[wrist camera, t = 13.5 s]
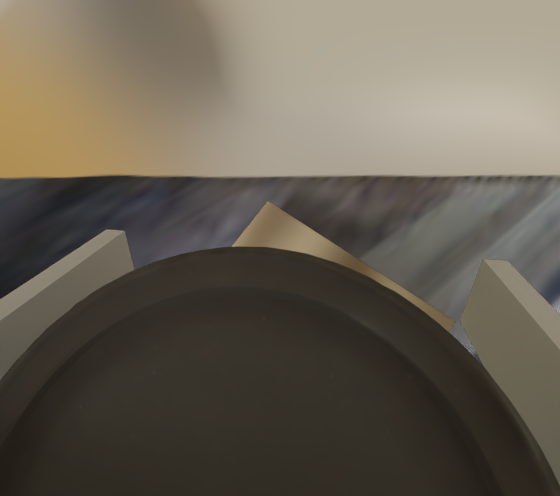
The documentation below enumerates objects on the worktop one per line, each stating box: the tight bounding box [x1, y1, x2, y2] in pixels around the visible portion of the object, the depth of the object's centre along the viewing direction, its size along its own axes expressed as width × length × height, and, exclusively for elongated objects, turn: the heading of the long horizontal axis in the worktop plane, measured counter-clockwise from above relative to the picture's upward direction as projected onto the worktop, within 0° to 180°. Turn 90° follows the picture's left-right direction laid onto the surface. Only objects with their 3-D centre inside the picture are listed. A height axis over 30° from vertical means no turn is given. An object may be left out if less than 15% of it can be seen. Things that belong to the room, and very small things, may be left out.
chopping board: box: [232, 201, 455, 332], centre depth 20 cm, size 14×13×2 cm
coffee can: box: [0, 246, 560, 496], centre depth 11 cm, size 10×10×14 cm
